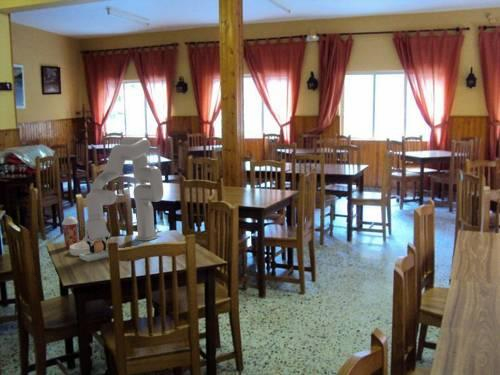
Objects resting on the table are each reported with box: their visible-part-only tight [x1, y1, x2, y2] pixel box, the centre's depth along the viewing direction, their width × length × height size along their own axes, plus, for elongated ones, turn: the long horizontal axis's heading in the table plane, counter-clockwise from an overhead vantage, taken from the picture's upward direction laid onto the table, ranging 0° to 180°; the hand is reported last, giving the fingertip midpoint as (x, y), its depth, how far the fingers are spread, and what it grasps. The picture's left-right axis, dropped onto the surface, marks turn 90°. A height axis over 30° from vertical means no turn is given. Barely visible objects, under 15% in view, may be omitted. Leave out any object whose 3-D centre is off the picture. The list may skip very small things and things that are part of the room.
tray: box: [79, 247, 109, 263], centre depth 270 cm, size 16×9×2 cm, turn 134°
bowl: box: [69, 241, 95, 257], centre depth 281 cm, size 15×15×4 cm
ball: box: [93, 240, 104, 253], centre depth 270 cm, size 6×6×6 cm
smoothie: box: [61, 210, 79, 249], centre depth 290 cm, size 8×8×20 cm
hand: (98, 251), depth 270 cm, fingers closed on ball, 5 cm apart
